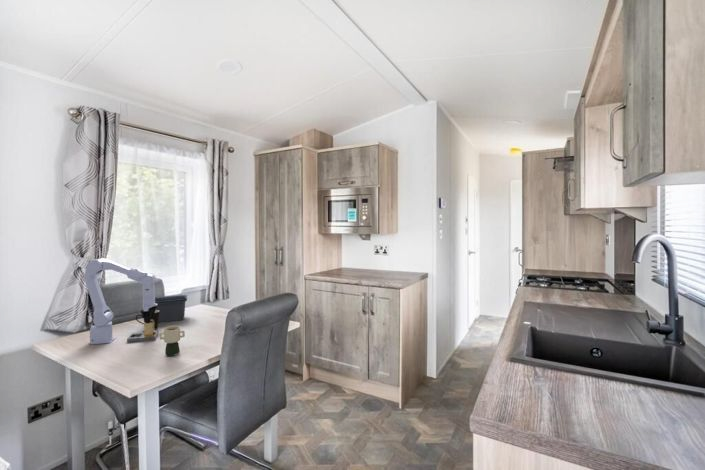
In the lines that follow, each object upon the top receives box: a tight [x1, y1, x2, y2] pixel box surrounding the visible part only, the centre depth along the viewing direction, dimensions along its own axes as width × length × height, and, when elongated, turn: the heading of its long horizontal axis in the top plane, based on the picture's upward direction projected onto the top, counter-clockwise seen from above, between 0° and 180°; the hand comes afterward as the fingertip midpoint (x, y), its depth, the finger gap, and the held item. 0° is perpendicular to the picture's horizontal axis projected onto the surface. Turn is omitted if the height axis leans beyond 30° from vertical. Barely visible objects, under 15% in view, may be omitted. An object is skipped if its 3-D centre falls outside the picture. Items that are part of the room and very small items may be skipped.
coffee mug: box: [135, 310, 159, 330], centre depth 210 cm, size 12×9×10 cm
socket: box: [126, 331, 159, 343], centre depth 192 cm, size 13×9×2 cm
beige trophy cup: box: [158, 325, 186, 357], centre depth 170 cm, size 11×7×13 cm, turn 110°
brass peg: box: [143, 321, 156, 336], centre depth 193 cm, size 4×4×9 cm
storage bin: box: [155, 294, 188, 323], centre depth 228 cm, size 21×16×14 cm
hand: (149, 321), depth 193 cm, fingers open, 7 cm apart
